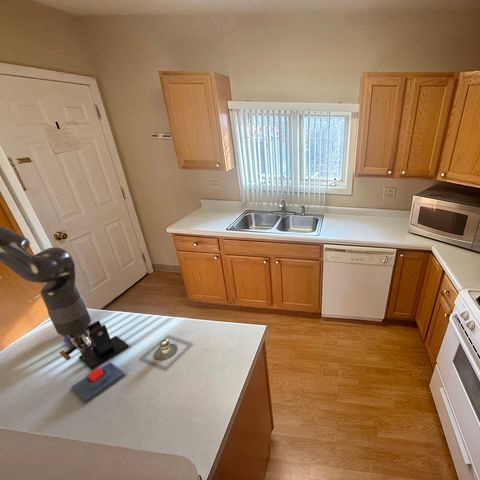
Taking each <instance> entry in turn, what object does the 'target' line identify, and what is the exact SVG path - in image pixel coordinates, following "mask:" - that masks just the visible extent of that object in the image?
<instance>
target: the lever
mask: <svg viewBox="0 0 480 480" xmlns="http://www.w3.org/2000/svg"><path fill="white" fill-rule="evenodd" d="M97 328H99V326H98V325H95V326H94V327H93V328H91V329H90V330H89V332H91V331H93V330H95V329H97ZM89 336H90V338H91V335H90V334H89ZM76 350H78V349H77V347H76V346H73V347H71V348H69V349H68V350H66V351H65V350H63V349H62V350H60V351H59V355H61V356H62V358H64V360H66V361H70V360H71V358H72V357H71V355H70V354H72V353H73V352H75V351H76Z"/></svg>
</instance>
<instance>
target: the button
mask: <svg viewBox="0 0 480 480" xmlns="http://www.w3.org/2000/svg"><path fill="white" fill-rule="evenodd" d="M100 368H101V367H99V368H98V367H97V368H94V369H92V370H91V371H90V372H89V373H88V374H89V375H88V374H87V375H88V377H89V379H90V381H92V382H94V381H97V380H99V379H100V378H102V377H103V375H104V373H103V370H102V369H100Z"/></svg>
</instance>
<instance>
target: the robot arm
mask: <svg viewBox="0 0 480 480" xmlns="http://www.w3.org/2000/svg"><path fill="white" fill-rule="evenodd" d="M30 245H31V241H30V240H29V239H28V238H26V237H25V236H23V235H22V234H19V233H17V232H16V231H14V230H11V229H10V228H8V227H5V226H3V225H1V224H0V263H2V264H3V265H4V266H5V267H7V268H8V269H9V270H10V271H12V272H13V273H14V274H15V275H17V276H18V277H19V278H21V279H22V280H24V281H27V282H30V283H36V284H43V283H44V285H43V286H42V287H41V289H40V293H39V294H40V297H41V299H42V301H43V303H44V305H45V307H46V309H47V314H48V317H49V319H50V320H51V322H52V325H53V327H54V329H55V331H56V333H57V334H58V335H61V336H62V335H67V336H68V338H70V339H71V342H72V344H74V346H76V347H77V349H76V350H77V351H79V352H80V356H81V355H82V357H83V358H84V359H85V360H88V359H90V358H91V357H93V356H94V355H93V352H92V350H91V349H93V348H94V343H95V342H94V340H93V339H92V340H91V339H90V336H89V334H90V333H89V331H88V329H86V327H87V326H89V325H91V322H92V319H91V316H90V314H89V311H88V308H87V307H86V303H85V301H84V300H83V298H82V296H81V294H80V292H79V290H78V288H77V285H76V267H75V266H76V265H75V261H74V258H73V256H72V255H71V254H70V253H69V252H68V251H67V250H66V249H64V248H61V247H56V246H54V247H53V246H52V247H47V248H45V249H42V250H41V251H39V252H37V253H36V254H31V253H29V252H28V251H27V250H28V249H29V247H30ZM85 329H86V330H85Z"/></svg>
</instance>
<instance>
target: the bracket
mask: <svg viewBox="0 0 480 480" xmlns="http://www.w3.org/2000/svg"><path fill="white" fill-rule="evenodd" d="M95 325H98V326H99V328H97V329H95V330H93V331H91V332H89V333H90V335H91V338H90V339H91V340H92V339H93V340H94V342H95V343H94V348H93V349H91V350H92V352H93V355H94V356H93V357H91V358H90V359H88V360H85V359H84V358H83V357H82V355H81V354H80V355H79V356H78V359H79V361H81V362H82V363H83V364H84V365H86V367H88V368H89V369H90V370H91V371H93V370H95V369H97V368H98V367H99V366H101V365H102V364H104V363H106V362H107V361H108V360H111V359H113V357H115V356H117V355H118V354H120V353H122V352H123V351H125V350H126V349H128V348H129V347H130V346H129V344H127V343H126V342H125V341H124V340H123V339H121V338H119V337H118V336H117V335H115V336H113V337H110V334H109V331H108V329H107V326H106V325H105V324H103V325H102V324H101V321H99V320H97V321H95V322H92V323H90V324H89V325H88V326H87V327H86V329H88V331H89V330H90V329H91V328H93V327H94V326H95ZM86 329H85V330H86Z"/></svg>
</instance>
